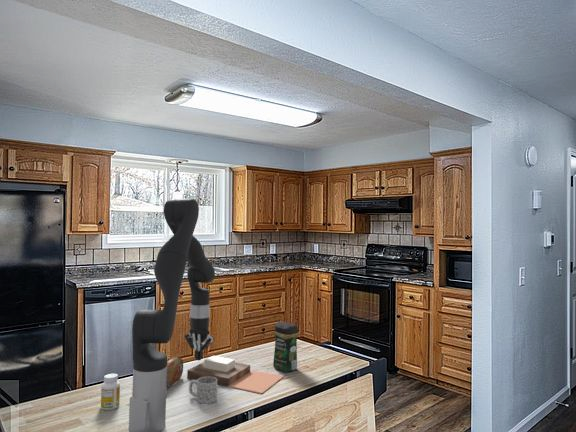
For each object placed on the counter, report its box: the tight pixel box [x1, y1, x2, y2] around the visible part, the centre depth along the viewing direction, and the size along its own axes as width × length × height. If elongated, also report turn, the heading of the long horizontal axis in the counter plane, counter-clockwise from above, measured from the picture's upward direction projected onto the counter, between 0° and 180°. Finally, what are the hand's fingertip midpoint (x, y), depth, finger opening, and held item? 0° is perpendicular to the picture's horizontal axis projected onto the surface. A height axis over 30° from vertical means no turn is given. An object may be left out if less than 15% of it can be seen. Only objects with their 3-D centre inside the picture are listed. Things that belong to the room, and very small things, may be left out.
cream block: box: [203, 355, 236, 372], centre depth 164 cm, size 6×10×3 cm, turn 66°
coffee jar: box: [272, 320, 299, 373], centre depth 174 cm, size 10×8×19 cm
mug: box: [188, 376, 218, 405], centre depth 142 cm, size 10×7×7 cm
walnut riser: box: [186, 361, 251, 388], centre depth 164 cm, size 16×18×3 cm
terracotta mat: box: [227, 370, 285, 395], centre depth 158 cm, size 18×14×1 cm
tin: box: [166, 356, 184, 389], centre depth 155 cm, size 15×3×8 cm, turn 168°
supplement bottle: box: [100, 373, 121, 411], centre depth 134 cm, size 5×5×10 cm
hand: (198, 359), depth 168 cm, fingers closed
